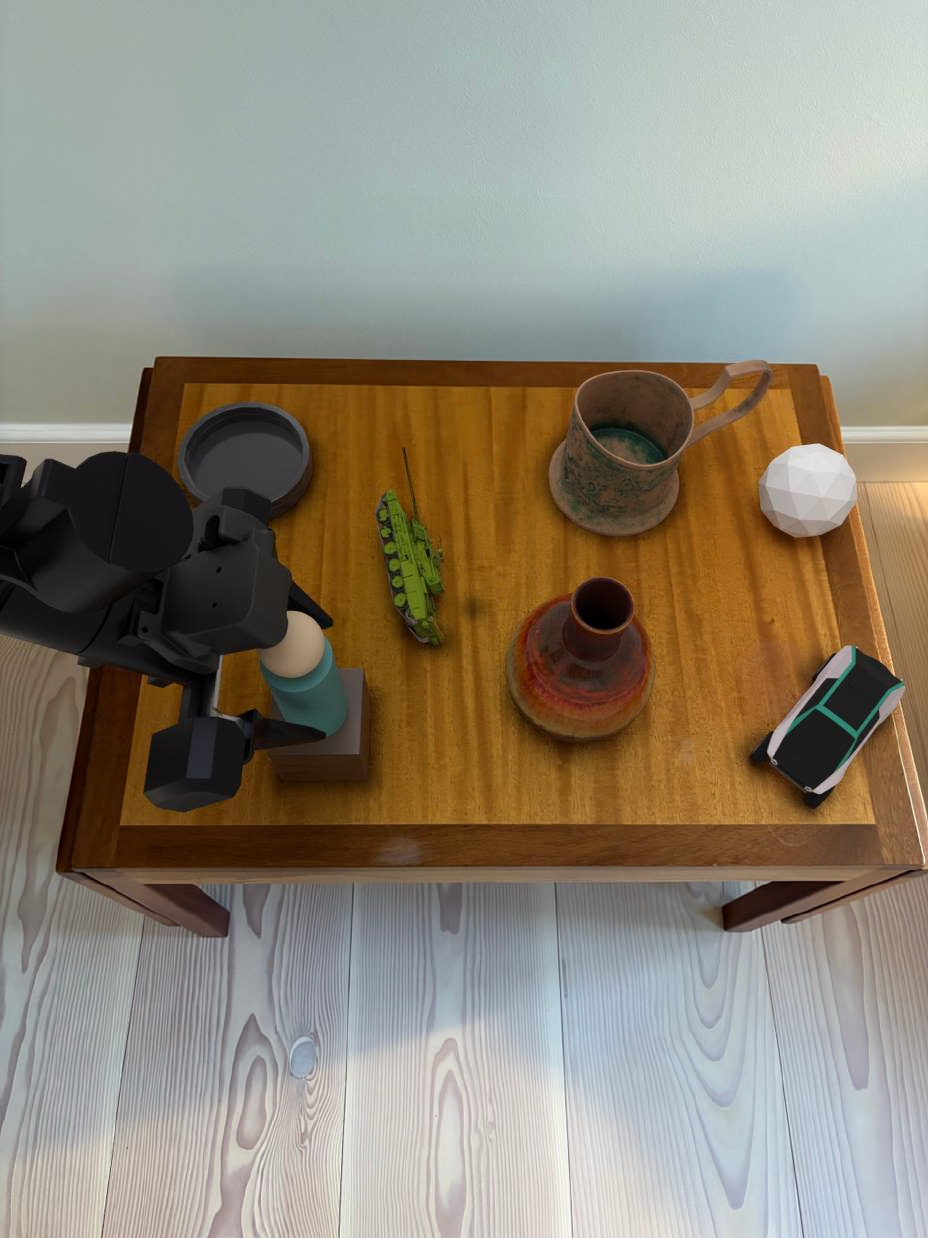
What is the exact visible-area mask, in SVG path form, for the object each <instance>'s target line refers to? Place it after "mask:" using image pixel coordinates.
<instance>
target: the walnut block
mask: <svg viewBox="0 0 928 1238" xmlns="http://www.w3.org/2000/svg"><path fill="white" fill-rule="evenodd" d="M337 669H338V672H339V676H340V679H341V683H342V686H343V690H344V693H345V697H346V701H347V706H348V711H347V716H346V719H345V721H344V723H343V725H342V726H341V727H340V729H339V730H338V731H337V732H335V733H334V734H332V735H331V736H329V737H327V738H326V739H324V740H321V741H318V742H313V743H306V744H298V745H291V746H284V747H277V748H270V749H266V756H267V757H268V759H269V760H270V763H271V764H272V765H273V767H274V769H275V771H276V772H277V774H278V775H279V776H280V778H281V780H282V781H290V782H291V781H298V782H301V781H309V782H310V781H311V782H312V781H313V782H315V781H317V782H318V781H319V782H321V781H322V782H323V781H325V782H327V781H328V782H329V781H330V782H333V781H334V782H340V781H341V782H367V781H368V780H369V779H368V778H369V754H370V736H371V735H370V732H371V731H370V730H371V712H372V711H371V710H372V700H371V696H370V690H369V686H368V681H367V675H366V672H365V668H363V667H337ZM270 699H271V700H270V710H269V719H274V720H280V721H285V719H284V717H283V715H282V713H281V711H280V709H279V707H278V705H277V703H276V701H275V698H274V696H273V694H272V693H271V698H270ZM285 722H286V721H285Z"/></svg>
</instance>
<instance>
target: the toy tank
mask: <svg viewBox="0 0 928 1238" xmlns="http://www.w3.org/2000/svg"><path fill="white" fill-rule="evenodd" d="M401 449H402V454H403V459H404V464H405V465H404V466H405V469H406V475H407V480H408V485H409V491H410V496H411V501H412V509H413V512H414V513H413V514H414V517H413V516H410V522H409V519H408V514H407V513H406V512H405V511H404V510H403V508H402V506H401V503H400V502H399V499H398V498H397V497H398V496H397V495H396V493H395V492H394V490H393V489H388V491H386V492H384V493H383V494H382V495H381V496H380V499H379V501H378V504H377V506H376V510H375V512H374V513H375V514H374V515H375V519H376V523H377V530H378V535H379V539H380V544H381V548H382V553H383V558H384V563H385V567H386V568H385V569H386V573H387V578H388V584H389V588H390V594H391V598H392V605H393V607H394V609H395V610H396V611H397V612H398V613H399V614H400V616H402V617H403V619H404V623H405V626H406V627H407V629H408V630H409V631H410V632H411V633H412V634H413V636H414V637H415V638H416V640H418V641H419V643H429V644H430V645H432V644H433V645H434V646H436V645H437V646H439V644H440V643H441V644H443V643H445V641H446V638H445V636H444V633H442V631H441V629H440V627H439V625H438V624H437V618H436V613H435V611H436V610H437V609H436V604H435V601H434V597H433V595H434V596H436V595H442V594H444V593H445V587H444V583H443V580H442V576H443V575H444V574H446V573H449V572H453V571H454V569H452V570H449V571H446V572H444V570H443V571H441V566H440V563H442V564H444V563H445V557H444V556H445V553H444V552H443V549H442V546H440V544H442V538H441V535H439V543H437V550H436V553H435V551H434V546H433V540H431V538H430V535H428V532H427V531H428V527H426V525H423V524H422V523H421V521H420V517H419V512H418V506H417V503H416V497H415V492H414V487H413V481H412V477H411V472H410V467H409V462H408V457H407V451H406V446H402V447H401ZM387 558H388V559H387ZM439 559H440V561H438V560H439ZM439 562H440V563H439ZM456 570H457V572H459V571H458V569H456ZM442 572H443V573H442ZM458 574H460V573H458ZM390 576H391V577H390ZM401 611H402V612H401ZM413 630H415V631H416V632H414V631H413Z"/></svg>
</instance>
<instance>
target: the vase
mask: <svg viewBox="0 0 928 1238" xmlns="http://www.w3.org/2000/svg"><path fill="white" fill-rule="evenodd" d="M635 611H636V603H635V599H634V596H633V594H632V592H631V591H630V589H629V588H628V587H627V586H626V585H625V584H624V583H622V582H621V581H619V580H618V579H615V578H613V577H610V576H605V575H604V576H603V575H601V576H600V575H598V576H597V575H596V576H591V577H588V578H586V579H585V580H583V581H582V582H581V583H579V584H578V585H577V586H576V587H575V589H574V590H573V592H567V593H562V594H558V595H556V596H553V597H549V598H548V599H546V600H545V601H542V602H540V603H539V604H538V605H536V606H535V607H534V608H533V609H531V610H529V612H528V613H527V614H526V615H525V616H524V617H523V618H522V619H521V621H520V622H519V624H518V625H517V627H516V628H515V629H514V631H513V634H512V636H511V638H510V641H509V644H508V647H507V651H506V657H505V679H506V684H507V688H508V693H509V694H510V697H511V699H512V702H513V704H514V705H515V708H517V710H518V712H519V714H520V715H521V716H522V717H523V719H525V720H526V721H527V723H528V724H530V725H531V726H532V727H533V728H534V729H536V730H537V731H538V732H540V733H542V734H543V735H545V736H547V737H549V738H551V739H554V740H557V741H560V742H564V743H569V744H570V743H572V744H590V743H594V742H599V741H602V740H605V739H608V738H610V737H613V736H614V735H616V734H617V733H620V732H621V731H623V730H625V728H626V727H628V726H629V725H630V724H632V722H634V721H635V719H636V718H637V717H638V716H639V715H640V713H642V711H643V709H644V708H645V706H646V704H647V703H648V701H649V699H650V697H651V695H652V691H653V688H654V683H655V680H656V667H657V666H656V655H655V649H654V646H653V643H652V640H651V638H650V636H649V633H648V631H647V629H646V628H645V626H644V624H643V623H641V621H640V618H638V617H637V616H636V615H635Z"/></svg>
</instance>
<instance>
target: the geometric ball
mask: <svg viewBox="0 0 928 1238" xmlns="http://www.w3.org/2000/svg"><path fill="white" fill-rule="evenodd" d="M757 484H758V495H759V504H760V505H759V506H760V511H761V512H762V513H763V515H764V516H765V517H766V518H767V520H768V521H769V522H770V523H771V525H772V526H773V527H775V528H777V529H778V530H780V531H781V532H784V534H787V535H789V536H791V537H793V538H794V539H797V538H807V537H815V536H822V535H824V534H826V533H829V532H830V531H832V530H835V529H836V528H838V527H840V526H842V524H843V523H844V521H845V520H846V519H847V517H848V515H849V514H850V512H851V511H852V509H853V508H854V506H855V505H856V503H857V502H858V486H857V485H858V484H857V476H856V474H855V472H854V470H853V469H852V467H851V465H850V463H848V461H847V459H846V458H845V456H844V454H841V453H839V452H838V451H836V450H833V449H831V448H830V447H827V446H825V445H823V444H822V443H811V444H804V445H795V446H791V447H790V448H788V449H787V450H785V451H784V452H782V453H781V454H780V455H778V456H776V457H775V458H773V459H772V460H771V461H770V462H769V464H768V466H767V467H766V468H765V470H764V472H763V474H762V475H761V477H760V479H759V480H758V483H757Z"/></svg>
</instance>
